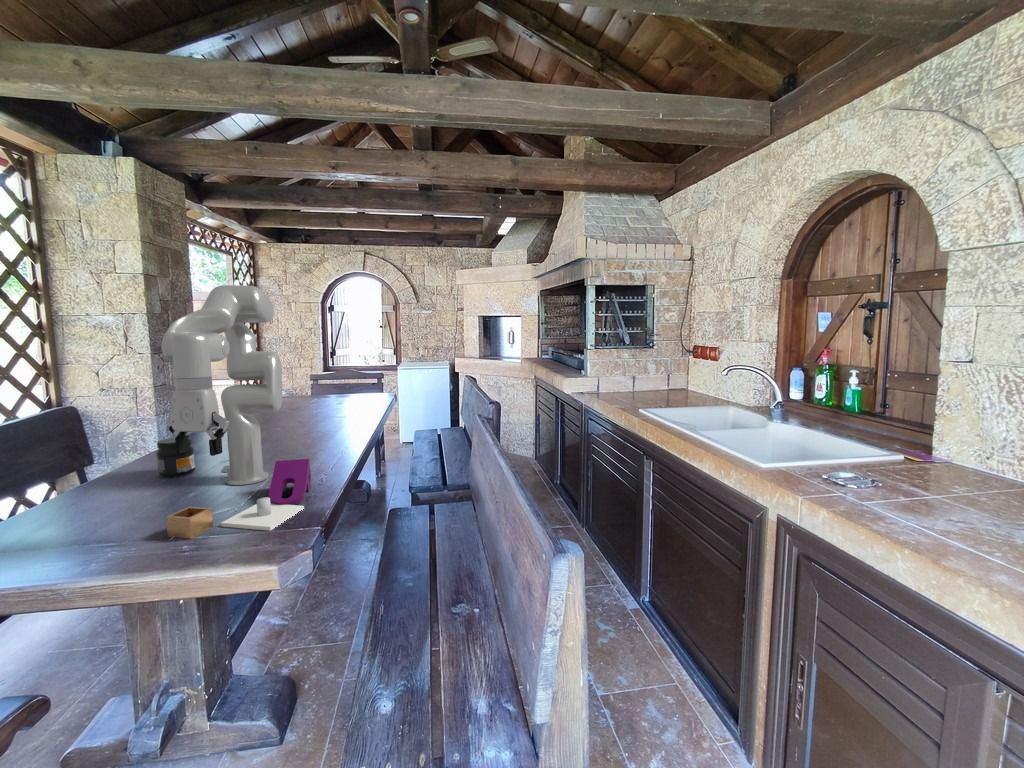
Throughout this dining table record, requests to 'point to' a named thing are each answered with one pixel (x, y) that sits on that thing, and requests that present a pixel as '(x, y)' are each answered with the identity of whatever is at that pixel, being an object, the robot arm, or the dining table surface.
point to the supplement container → (174, 459)
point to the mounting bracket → (290, 481)
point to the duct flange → (262, 515)
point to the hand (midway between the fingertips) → (199, 453)
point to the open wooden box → (189, 522)
